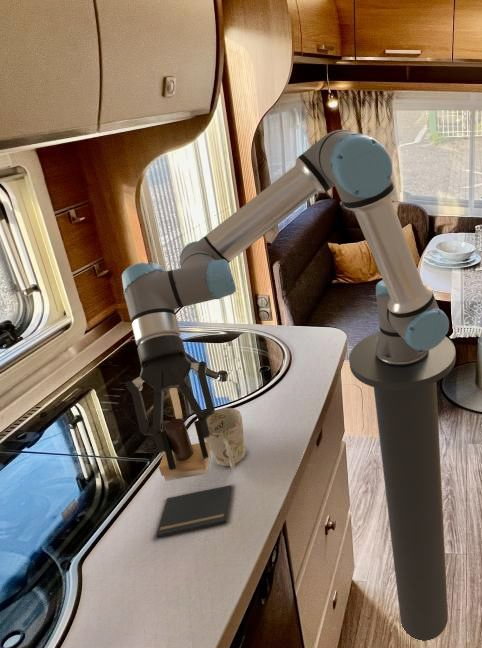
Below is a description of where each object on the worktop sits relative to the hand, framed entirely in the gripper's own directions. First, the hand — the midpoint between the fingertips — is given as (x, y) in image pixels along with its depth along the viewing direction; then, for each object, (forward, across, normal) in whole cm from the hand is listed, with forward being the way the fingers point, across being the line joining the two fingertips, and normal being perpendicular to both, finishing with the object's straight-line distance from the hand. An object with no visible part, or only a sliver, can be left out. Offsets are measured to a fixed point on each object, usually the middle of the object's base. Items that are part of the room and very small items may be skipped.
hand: (189, 462), depth 87 cm
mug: (0, -6, -20) cm, 22 cm away
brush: (0, +1, -6) cm, 6 cm away
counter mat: (+8, +2, -13) cm, 15 cm away
